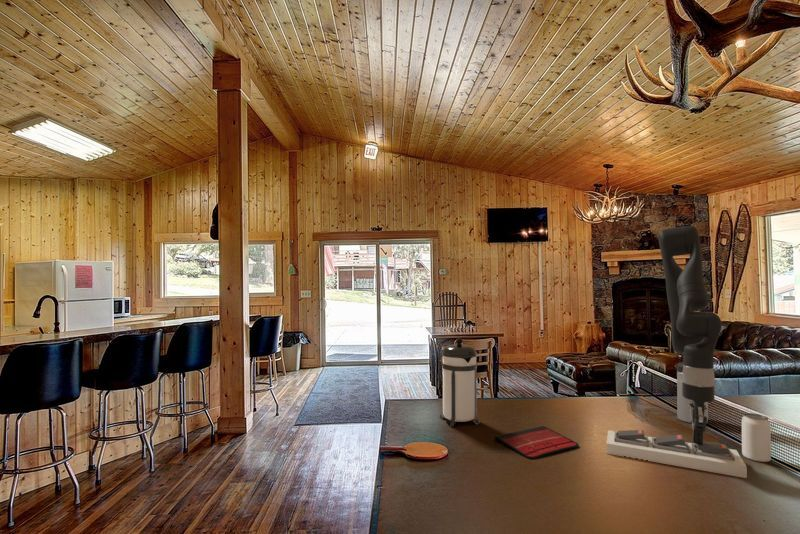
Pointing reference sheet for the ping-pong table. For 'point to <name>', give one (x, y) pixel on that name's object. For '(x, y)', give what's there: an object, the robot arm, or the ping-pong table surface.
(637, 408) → the ping-pong table surface
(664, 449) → the switch panel
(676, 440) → the rocker
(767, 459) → the can
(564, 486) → the ping-pong table surface
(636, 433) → the rocker
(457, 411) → the coffee press
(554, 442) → the binder
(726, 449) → the rocker
